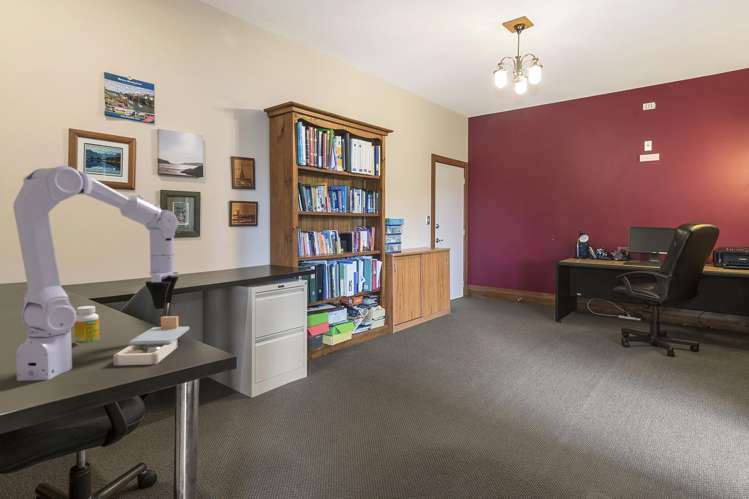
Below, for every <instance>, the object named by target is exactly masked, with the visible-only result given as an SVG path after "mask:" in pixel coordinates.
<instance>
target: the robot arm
mask: <svg viewBox="0 0 749 499" xmlns="http://www.w3.org/2000/svg"><path fill="white" fill-rule="evenodd" d="M22 179H23V180H22V181H23V184H22V186H21V188H20V189H19V191H18V193H17V195H16V198H15V199H14V201H13V206H12V207H13V213H14V219H15V223H16V227H17V228H16V229H17V235H18V240H19V245H20V251H21V257H22V261H23V262H22V263H23V267H24V273H25V279H26V284H27V292H26V293H25V295H24V296H23V301H24V302H23V303H24V305H23V309H22V312H21V320H22V323H23V324H24V325H25V326H26V327H28V330H27V337H26V340H25V341H24V342H23V343H21V344H20V345H19V346H18V347H17V349H16V353H15V364H16V365H15V367H16V368H15V369H16V381H19V382H22V381H23V382H24V381H44V380H45V381H46V380H47V381H48V380H51V379H53V378H54V377H56V376H58V375H61V374H63V373H65V372H69V371H70V370H72V369H73V353H72V352H73V351H72V350H73V348H72V328H73V327H74V326H75V324H74V323H75V321H76V318H77V316H78V314H77V310H76V309H75V308H74V307H73V306H72V305H71V302H70V298H69V296H68V294H67V293H66V291H65V290H64V289H63V287H62V285H61V279H60V274H59V273H60V272H59V269H58V263H57V257H56V250H55V246H54V245H55V244H54V238H53V233H52V232H53V231H52V228H51V221H50V217H49V216H50V215H49V213H50V212H51V211H52V210H53V209H54V208H55V207H57V206H58V204H60V203H61V202H63V201H65V200H67V199H70V198H72V197H74V196H77V195H80V196H81V195H85V196H88V197H91V198H93V199H95V200H98V201H99V202H103V203H105V204H108V205H110V206H112V207H115V208H116V209H119V211H120V214H121V216H123V217H124V218H127V219H129V220H131V221H134V222H136V223H139V224H141V225H143V226H145V229H146V230H148V231H149V261H150V262H149V269H150V271H149V276H150V278H151V279H150V280H151V281H149V280H148V281H146V282H145V287H146V288H147V289H148V291H149V294H150V296H151V300H152V303H153V304H152V305H153V306H154V309H155V310H159V309H163V310H164V309H165V306H166V304H171V302H172V299H173V295H174V291H175V287H176V284H177V281H178V280H179V276H174V275H179V274H180V270H175V236H176V230H177V229H178V227H179V224H180V221H179V220H178V218H177V216H176V214H175V213H174V212H172V210H169V209H161V206H160V205H158V204H153V203H152V202H151V203H150V202H149V201H146V200H145V196H143V195H139V194H138V195H134V194H133V195H129V196H127V195H124V194H122V193H120V192H119V191H117V190H115V189H113V188H112V187H109V186H108V185H106V184H104V183H102V182H100V181H98V180H97V179H95V178H93V177H92V176H90V175H89V174H87V173H86V172H84V171H81V170H77V169H75V168H74V167H72V166H68V165H59V166H55V167H50V168H49V167H47V168H44V167H42V168H38V169H34V170H33V171H31V173H29V174H28V175H26V176H25V177H24V178H22Z"/></svg>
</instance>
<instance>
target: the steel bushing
mask: <svg viewBox="0 0 749 499" xmlns="http://www.w3.org/2000/svg"><path fill="white" fill-rule="evenodd" d="M160 348H161V346H150V347H148V348H147V353H154V352H155V351H157V350H158V349H160Z"/></svg>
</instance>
